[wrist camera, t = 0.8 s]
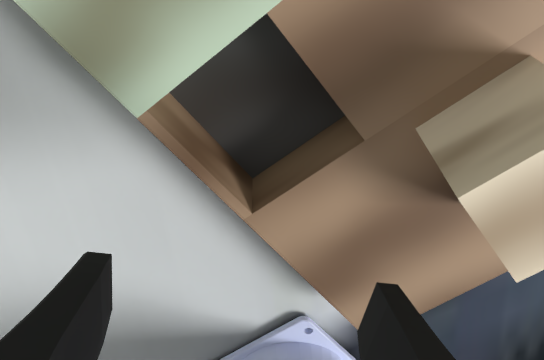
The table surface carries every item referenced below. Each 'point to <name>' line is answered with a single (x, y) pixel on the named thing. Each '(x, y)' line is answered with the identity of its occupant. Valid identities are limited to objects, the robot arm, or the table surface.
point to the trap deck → (314, 120)
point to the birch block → (498, 162)
